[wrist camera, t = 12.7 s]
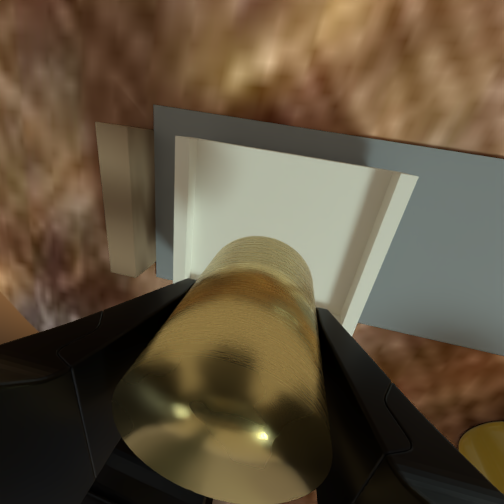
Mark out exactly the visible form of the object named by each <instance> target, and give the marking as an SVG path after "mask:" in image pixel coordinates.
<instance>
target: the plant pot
mask: <svg viewBox="0 0 504 504" xmlns="http://www.w3.org/2000/svg"><path fill="white" fill-rule="evenodd" d="M459 452H460V453H461V454H462V455H463V456H464V457H465V458H466V459H467V460H468V461H469V462H470V463H471V464H473V465H474V466H475V467H476V468H477V469H478V470H479V471H480V472H481V473H482V474H483V475H484V476H485V477H486V478H487V479H488V480H489V481H490V482H491V483H492V484H493V485H494V486H495V487H496V488H497V489H498V490H499V491H500V492H501V493H503V494H504V421H497V422H489V423H485V424H481V425H479V426H476V427H474V428H472V429H470V430H469V431H467V432H466V433H465V434H464V435H463V436H462V437H461V439H460V441H459Z"/></svg>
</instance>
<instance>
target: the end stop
mask: <svg viewBox="0 0 504 504" xmlns="http://www.w3.org/2000/svg"><path fill="white" fill-rule="evenodd" d="M95 127H96V137H97V146H98V155H99V165H100V174H101V183H102V193H103V202H104V211H105V221H106V230H107V239H108V249H109V258H110V267H111V272H113V273H117V274H121V275H126V276H130V277H134V278H136V277H138V276H139V275H140V274H141V273H143V272H144V271H145V270H146V269H148V268H149V267H150V266H151V265H152V264H154V263H155V262H156V219H155V163H154V130H150V129H144V128H138V127H132V126H126V125H118V124H110V123H102V122H95Z"/></svg>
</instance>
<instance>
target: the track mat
mask: <svg viewBox="0 0 504 504" xmlns="http://www.w3.org/2000/svg"><path fill="white" fill-rule="evenodd" d="M153 106H154V163H155V219H156V276H157V277H160V278H164V279H169V280H173V249H174V184H175V136H183V137H194V138H200V139H206V140H212V141H218V142H224V143H230V144H236V145H242V146H248V147H254V148H260V149H266V150H272V151H278V152H284V153H290V154H296V155H301V156H307V157H313V158H319V159H325V160H331V161H337V162H343V163H349V164H355V165H361V166H367V167H373V168H379V169H385V170H391V171H397V172H402V173H406V174H410V175H414V176H418V177H419V178H418V180H417V182H416V185H415V187H414V189H413V192H412V194H411V197H410V199H409V201H408V204H407V206H406V209H405V211H404V213H403V216H402V218H401V220H400V223H399V225H398V228H397V230H396V232H395V235H394V237H393V239H392V242H391V244H390V247H389V249H388V251H387V254H386V256H385V259H384V261H383V263H382V266H381V268H380V270H379V273H378V275H377V278H376V280H375V282H374V285H373V287H372V290H371V292H370V294H369V297H368V299H367V301H366V304H365V306H364V309H363V311H362V313H361V316H360V318H359V320H358V323H362V324H366V325H370V326H375V327H379V328H383V329H388V330H392V331H397V332H401V333H405V334H410V335H414V336H419V337H423V338H427V339H432V340H436V341H440V342H445V343H449V344H454V345H458V346H462V347H467V348H471V349H475V350H480V351H484V352H489V353H493V354H497V355H502V356H504V159H500V158H493V157H487V156H480V155H474V154H467V153H461V152H455V151H448V150H442V149H435V148H429V147H423V146H416V145H410V144H403V143H397V142H390V141H384V140H378V139H371V138H365V137H358V136H352V135H346V134H339V133H333V132H326V131H320V130H314V129H307V128H301V127H294V126H288V125H281V124H275V123H269V122H262V121H256V120H249V119H243V118H237V117H230V116H224V115H217V114H211V113H204V112H198V111H192V110H185V109H179V108H172V107H166V106H160V105H153Z"/></svg>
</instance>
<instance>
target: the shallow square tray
mask: <svg viewBox="0 0 504 504" xmlns="http://www.w3.org/2000/svg"><path fill="white" fill-rule="evenodd" d="M418 178H419V177H418V176H414V175H410V174H406V173H402V172H397V171H391V170H385V169H379V168H373V167H367V166H361V165H355V164H349V163H343V162H337V161H331V160H325V159H319V158H313V157H307V156H301V155H296V154H290V153H284V152H278V151H272V150H266V149H260V148H254V147H248V146H242V145H236V144H230V143H224V142H218V141H212V140H206V139H200V138H194V137H183V136H175V184H174V249H173V283H176V282H179V281H181V280H184V279H187V278H191V279H195V280H197V279H198V278H199V277H200V275H201V274H202V273H203V271H204V270H205V269H206V267H207V266H208V265H209V264H210V262H211V261H212V260H213V258H214V257H215V256H216V254H217V253H218V252H219V251H220V250H221V249H222V248H223V247H224V246H226V245H227V244H229V243H230V242H232V241H234V240H237V239H239V238H243V237H249V236H264V237H270V238H273V239H277V240H279V241H282V242H284V243H285V244H287V245H289V246H290V247H292V248H293V249H294V250H296V251H297V252H298V253H299V254H300V255H301V256H302V258H303V259H304V260H305V262H306V263H307V265H308V267H309V269H310V272H311V275H312V280H313V288H314V297H315V306H316V307H320V308H324V309H327V310H329V312H330V313H331V314H332V315H333V316H334V317H335V318H336V319H337V320H338V322H339V323H340V324H341V325H342V326H343V327H344V328H345V329H346V331H347V332H348V333H349V334H350V335H351V336H352V335H353V332H354V330H355V328H356V325H357V323H358V320H359V318H360V316H361V313H362V311H363V309H364V306H365V304H366V301H367V299H368V297H369V294H370V292H371V290H372V287H373V285H374V282H375V280H376V278H377V275H378V273H379V270H380V268H381V266H382V263H383V261H384V259H385V256H386V254H387V251H388V249H389V247H390V244H391V242H392V239H393V237H394V235H395V232H396V230H397V228H398V225H399V223H400V220H401V218H402V216H403V213H404V211H405V209H406V206H407V204H408V201H409V199H410V197H411V194H412V192H413V189H414V187H415V185H416V182H417V180H418Z"/></svg>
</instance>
